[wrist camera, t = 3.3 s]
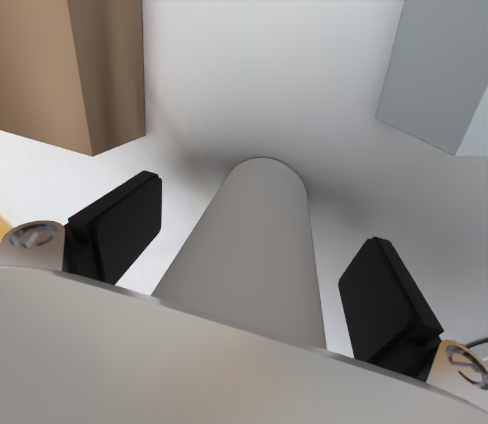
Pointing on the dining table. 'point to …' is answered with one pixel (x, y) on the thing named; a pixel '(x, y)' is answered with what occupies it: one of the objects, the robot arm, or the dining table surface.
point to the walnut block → (72, 72)
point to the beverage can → (253, 256)
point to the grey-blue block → (440, 75)
